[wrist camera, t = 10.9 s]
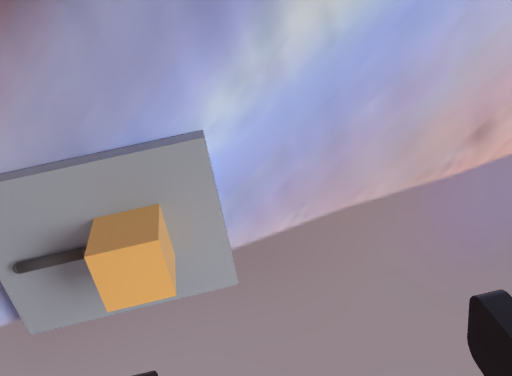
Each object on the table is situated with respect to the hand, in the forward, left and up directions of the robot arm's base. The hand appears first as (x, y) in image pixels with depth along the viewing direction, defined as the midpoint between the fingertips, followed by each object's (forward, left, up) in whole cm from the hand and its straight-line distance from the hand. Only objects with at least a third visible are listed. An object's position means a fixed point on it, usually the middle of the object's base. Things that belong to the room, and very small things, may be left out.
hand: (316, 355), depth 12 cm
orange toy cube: (+9, +10, -24) cm, 27 cm away
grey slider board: (+11, +10, -25) cm, 29 cm away
